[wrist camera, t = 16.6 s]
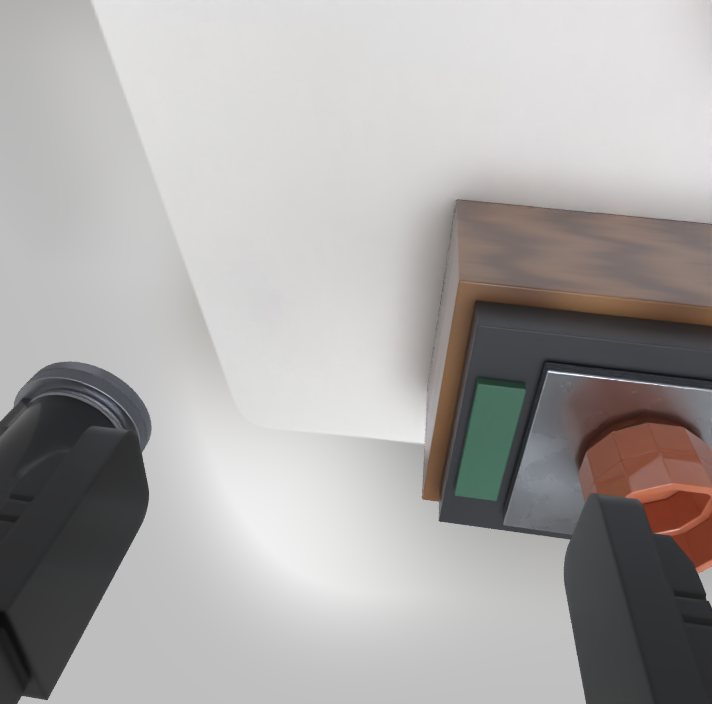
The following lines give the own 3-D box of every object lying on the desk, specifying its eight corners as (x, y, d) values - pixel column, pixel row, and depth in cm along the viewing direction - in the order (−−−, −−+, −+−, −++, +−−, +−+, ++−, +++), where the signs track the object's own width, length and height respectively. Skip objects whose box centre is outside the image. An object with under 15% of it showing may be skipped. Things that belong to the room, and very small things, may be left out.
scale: (439, 491, 39) (438, 529, 36) (475, 299, 31) (477, 331, 28) (697, 525, 37) (715, 568, 35) (803, 335, 30) (836, 372, 27)
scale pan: (501, 514, 35) (502, 525, 35) (545, 361, 29) (547, 370, 28) (713, 543, 34) (718, 555, 34) (804, 391, 28) (813, 402, 28)
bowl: (565, 497, 33) (580, 567, 29) (596, 409, 29) (618, 475, 26) (682, 513, 32) (712, 586, 29) (728, 425, 29) (770, 495, 25)
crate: (427, 389, 49) (421, 499, 39) (456, 199, 40) (458, 280, 30) (654, 416, 48) (707, 538, 38) (736, 226, 39) (834, 320, 29)
